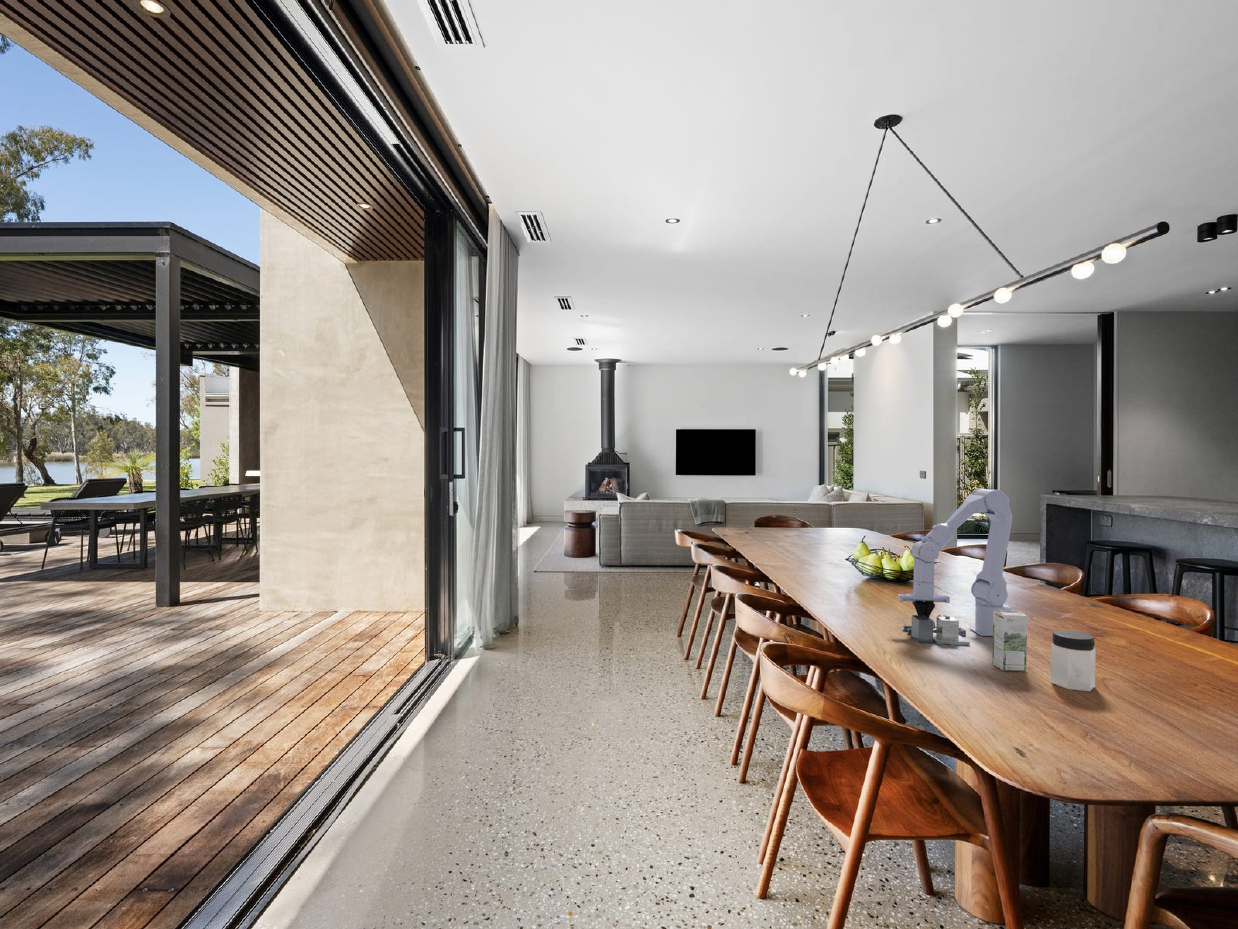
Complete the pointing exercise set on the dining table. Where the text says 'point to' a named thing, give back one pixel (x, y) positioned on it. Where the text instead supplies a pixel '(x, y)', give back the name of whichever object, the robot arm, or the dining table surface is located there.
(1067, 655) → the jar
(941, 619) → the block
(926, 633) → the press
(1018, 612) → the syrup box
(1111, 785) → the dining table surface
